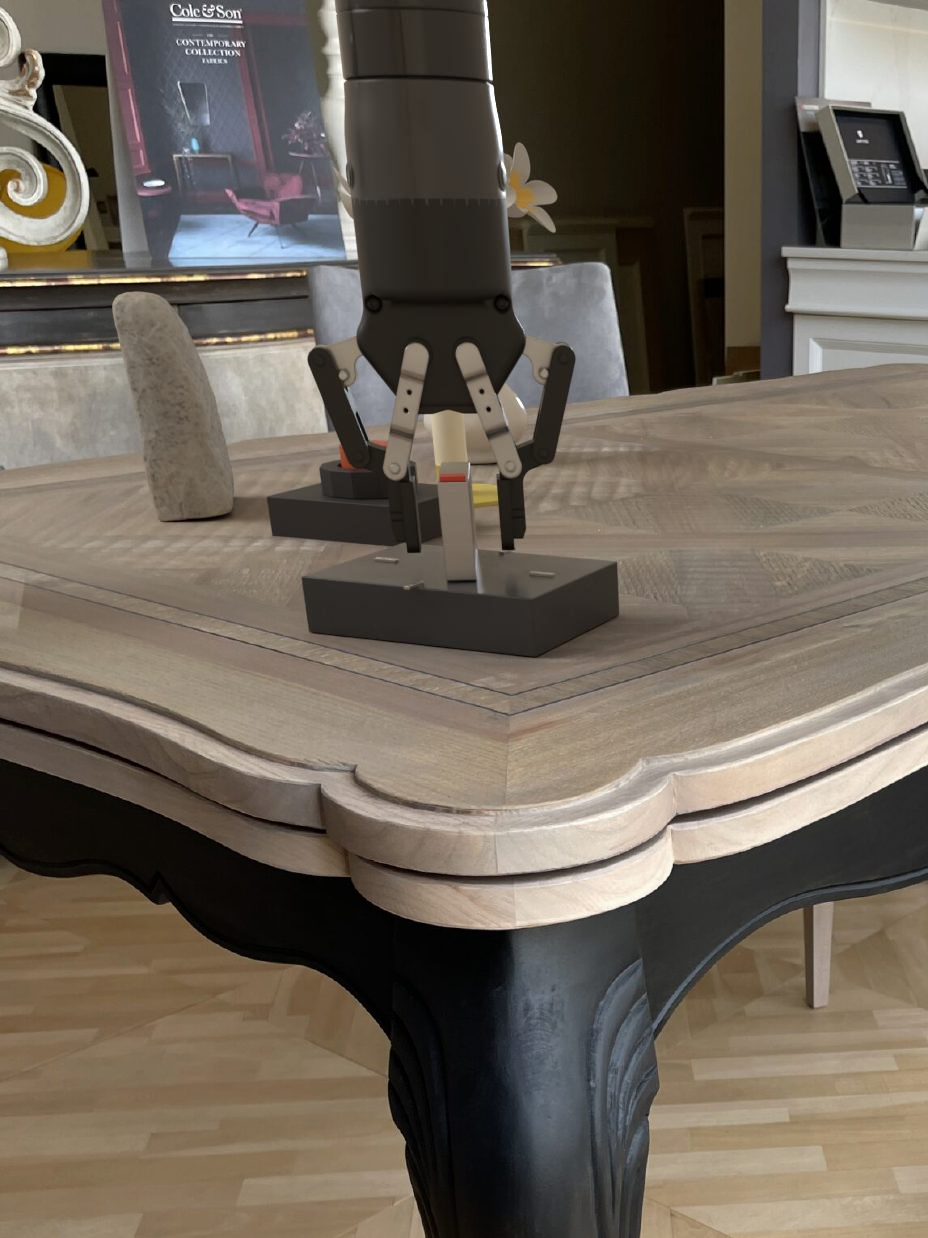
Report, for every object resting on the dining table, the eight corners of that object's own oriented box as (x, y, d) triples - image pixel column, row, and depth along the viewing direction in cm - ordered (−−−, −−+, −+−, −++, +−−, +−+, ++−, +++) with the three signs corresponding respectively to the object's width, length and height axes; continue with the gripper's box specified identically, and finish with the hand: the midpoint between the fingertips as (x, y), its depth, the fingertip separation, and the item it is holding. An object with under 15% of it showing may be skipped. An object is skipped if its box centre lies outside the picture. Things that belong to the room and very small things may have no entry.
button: (331, 472, 105) (328, 445, 104) (361, 465, 108) (358, 439, 107) (376, 475, 104) (372, 448, 103) (405, 468, 107) (402, 442, 106)
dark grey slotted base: (301, 634, 82) (293, 575, 81) (414, 591, 92) (408, 537, 90) (530, 660, 78) (525, 598, 77) (624, 612, 87) (622, 556, 86)
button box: (272, 536, 106) (261, 468, 104) (347, 515, 114) (339, 451, 111) (407, 548, 103) (399, 478, 101) (475, 525, 110) (470, 460, 108)
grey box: (449, 555, 86) (440, 457, 84) (477, 554, 87) (469, 457, 84) (446, 581, 80) (436, 477, 78) (477, 580, 80) (468, 477, 78)
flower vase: (359, 455, 140) (321, 141, 128) (554, 446, 146) (535, 145, 134) (380, 476, 130) (341, 136, 118) (590, 465, 136) (573, 141, 124)
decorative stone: (170, 498, 119) (133, 286, 112) (249, 497, 120) (217, 286, 113) (143, 524, 110) (101, 294, 103) (229, 522, 111) (193, 294, 104)
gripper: (571, 193, 79) (588, 533, 87) (287, 190, 77) (332, 539, 85) (578, 192, 73) (596, 560, 81) (268, 189, 70) (319, 567, 79)
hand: (461, 547), depth 83 cm, fingers open, 4 cm apart
